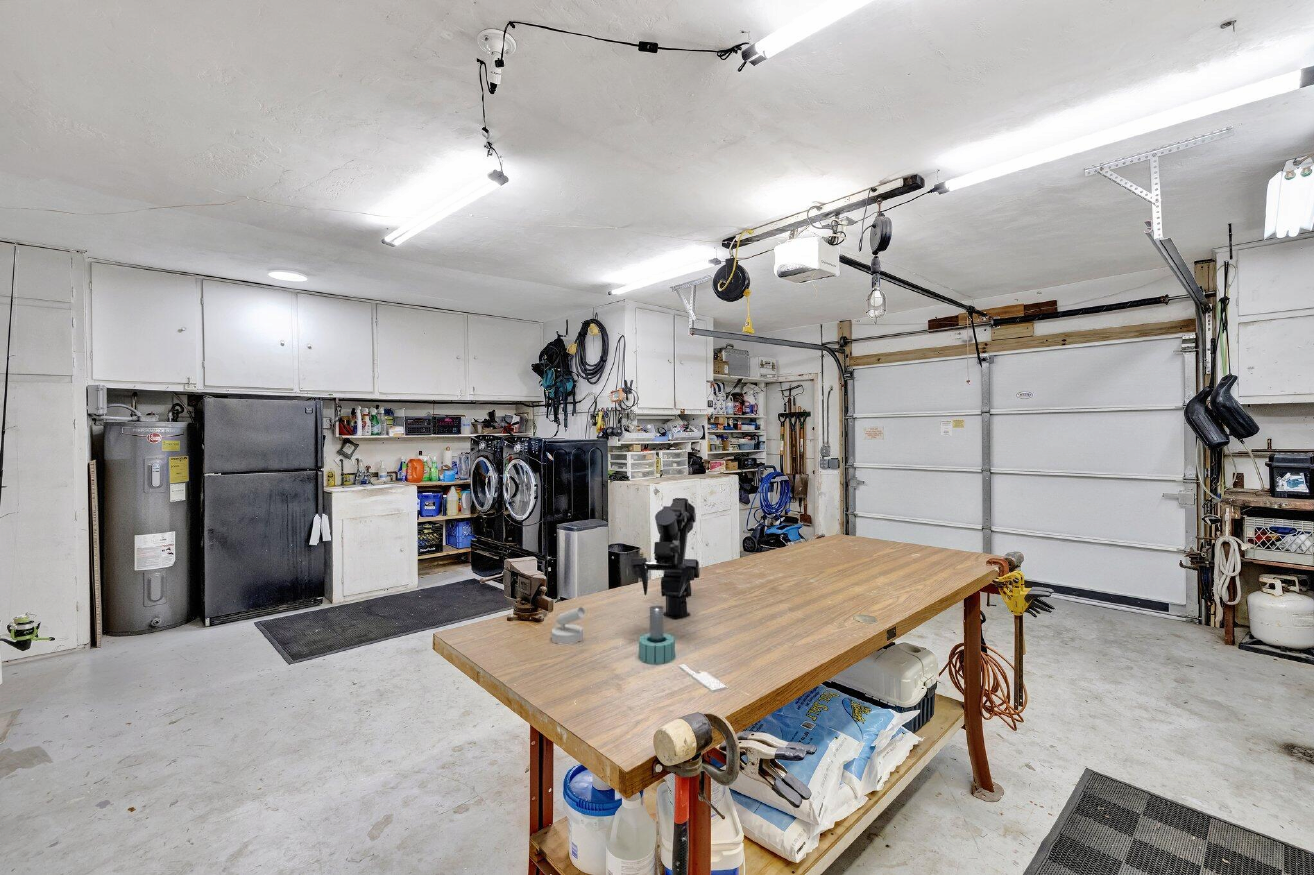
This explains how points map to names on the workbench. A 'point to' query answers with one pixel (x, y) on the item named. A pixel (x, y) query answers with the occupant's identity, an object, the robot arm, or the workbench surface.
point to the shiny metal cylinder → (656, 624)
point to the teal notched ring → (656, 650)
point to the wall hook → (568, 627)
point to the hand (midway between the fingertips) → (661, 595)
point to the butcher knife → (704, 679)
